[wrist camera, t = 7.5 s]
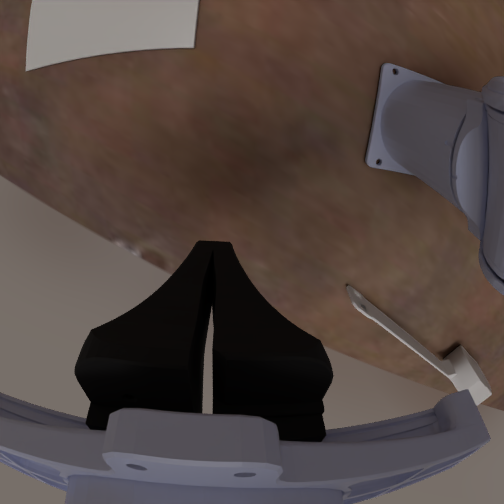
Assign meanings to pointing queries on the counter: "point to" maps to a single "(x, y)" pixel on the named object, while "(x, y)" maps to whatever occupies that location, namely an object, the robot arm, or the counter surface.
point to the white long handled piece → (453, 365)
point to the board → (106, 28)
